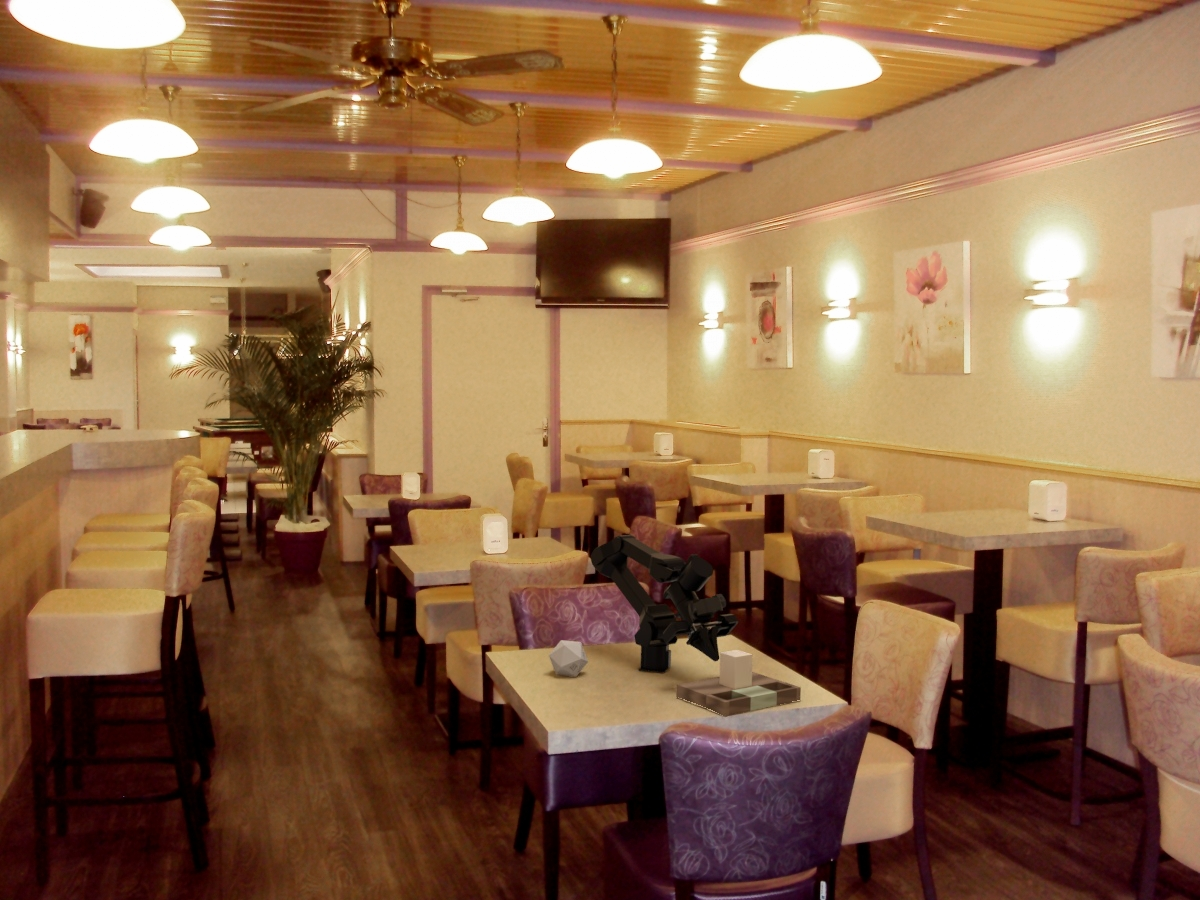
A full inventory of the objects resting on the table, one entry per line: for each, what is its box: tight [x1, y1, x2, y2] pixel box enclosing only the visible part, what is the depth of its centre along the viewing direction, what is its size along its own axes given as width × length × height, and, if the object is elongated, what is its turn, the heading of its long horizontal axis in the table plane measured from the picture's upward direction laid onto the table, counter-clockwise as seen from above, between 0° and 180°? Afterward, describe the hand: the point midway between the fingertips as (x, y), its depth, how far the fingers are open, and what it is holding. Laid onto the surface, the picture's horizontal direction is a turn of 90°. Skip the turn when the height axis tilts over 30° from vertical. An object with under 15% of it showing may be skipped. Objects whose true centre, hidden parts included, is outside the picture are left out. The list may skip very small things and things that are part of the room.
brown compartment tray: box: [675, 671, 802, 717], centre depth 239 cm, size 16×22×3 cm
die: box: [548, 639, 589, 678], centre depth 258 cm, size 8×9×10 cm
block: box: [719, 649, 753, 689], centre depth 240 cm, size 5×5×7 cm
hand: (717, 660), depth 245 cm, fingers closed
